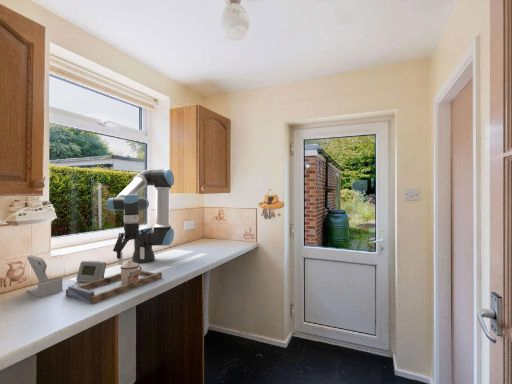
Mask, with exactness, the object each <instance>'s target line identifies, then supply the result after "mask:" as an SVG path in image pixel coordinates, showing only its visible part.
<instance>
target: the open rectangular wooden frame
mask: <svg viewBox="0 0 512 384" xmlns="http://www.w3.org/2000/svg"><path fill="white" fill-rule="evenodd" d="M139 276H143V277H142V278H139V279H138V280H135V281H133V282H128V283H127V284H122V285H119V286H116V287H114V288H109V289H107V290H104V291H101V292H99V293H96V294H95V290H94V291H93V290H92V289H96V288H99V287H101V286H104V285H110V284H112V283H113V282H116V281H121V272H119V273H114V274H112V275H108V276H106V277H105V276H104V278H102V279H99V280H95V281H92V282H89V283H86V282H84V283H83V284H80V285H70V286H68V288H66V289H65V296H66V297H69V298H73V299H75V300H77V301H78V300H79V301H81V302H85V303H88V304H91V305H94V304H96V303H99V302H102V301H104V300H107V299H110V298H113V297H115V296H118V295H120V294H123V293H125V292H129V291H131V290H134V289H136V288H139V287H141V286H145V285H147V284H149V283H152V282H155V281H157V280H160V279H162V278H163V272H160V271H158V272H153V271H152V272H151V271H145V270H141V273H140V274H139Z"/></svg>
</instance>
